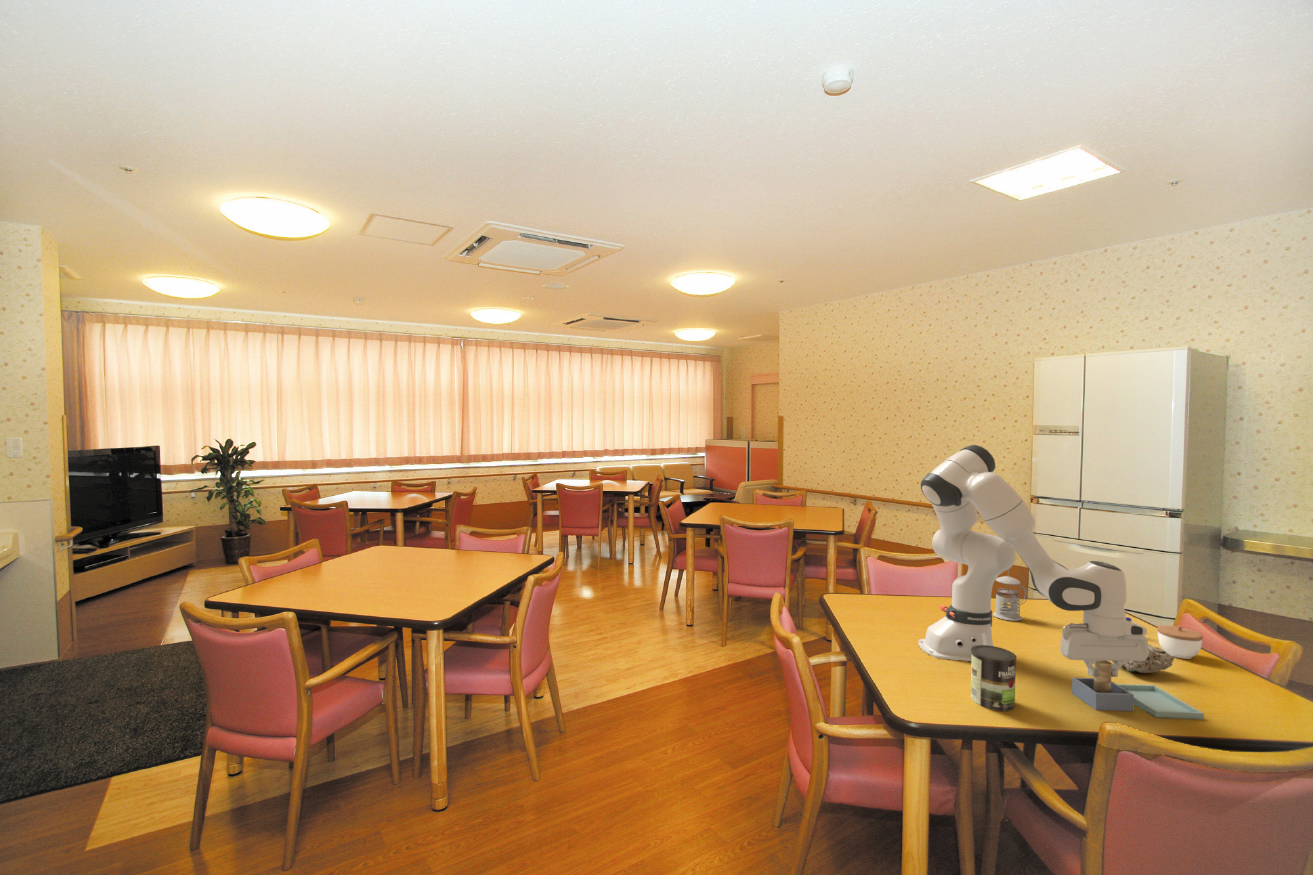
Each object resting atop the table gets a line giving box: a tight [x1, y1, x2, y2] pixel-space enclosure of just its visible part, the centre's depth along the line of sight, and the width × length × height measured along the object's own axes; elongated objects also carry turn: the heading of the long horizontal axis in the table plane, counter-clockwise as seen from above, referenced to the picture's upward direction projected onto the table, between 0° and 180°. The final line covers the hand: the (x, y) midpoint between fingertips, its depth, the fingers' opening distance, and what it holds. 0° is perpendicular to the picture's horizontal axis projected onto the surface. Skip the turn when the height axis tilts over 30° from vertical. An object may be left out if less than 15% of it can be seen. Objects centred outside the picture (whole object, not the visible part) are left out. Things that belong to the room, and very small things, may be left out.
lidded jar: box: [1156, 624, 1203, 660], centre depth 183 cm, size 11×11×9 cm
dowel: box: [1093, 660, 1113, 693], centre depth 151 cm, size 4×4×10 cm
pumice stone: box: [1121, 643, 1175, 674], centre depth 170 cm, size 14×12×8 cm
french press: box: [992, 568, 1029, 622], centre depth 218 cm, size 10×12×25 cm
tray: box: [1116, 683, 1205, 721], centre depth 150 cm, size 11×15×2 cm
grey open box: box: [1071, 677, 1135, 712], centre depth 151 cm, size 9×9×5 cm
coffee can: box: [970, 645, 1017, 712], centre depth 150 cm, size 10×10×14 cm
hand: (1102, 675), depth 151 cm, fingers closed on dowel, 4 cm apart
